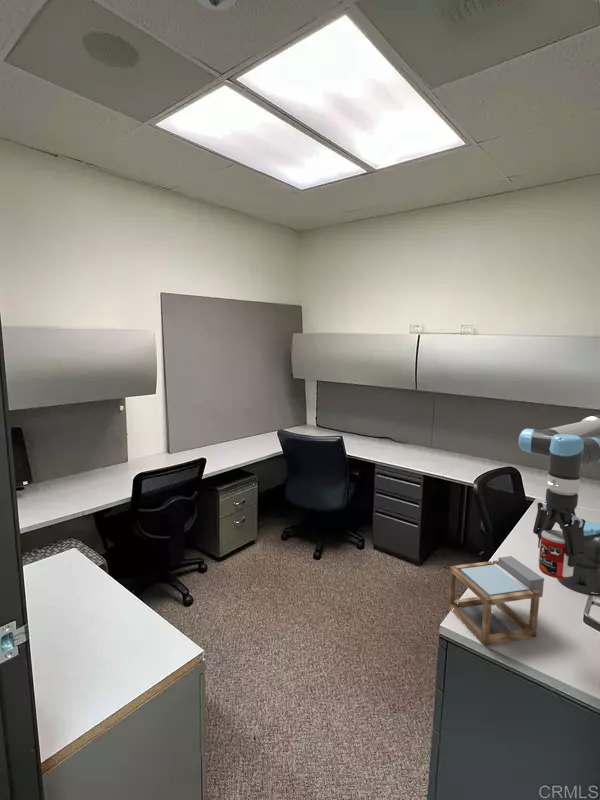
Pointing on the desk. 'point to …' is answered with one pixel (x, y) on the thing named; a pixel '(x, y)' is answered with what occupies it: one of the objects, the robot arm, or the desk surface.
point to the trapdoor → (504, 577)
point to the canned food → (552, 553)
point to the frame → (481, 616)
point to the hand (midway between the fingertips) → (554, 567)
